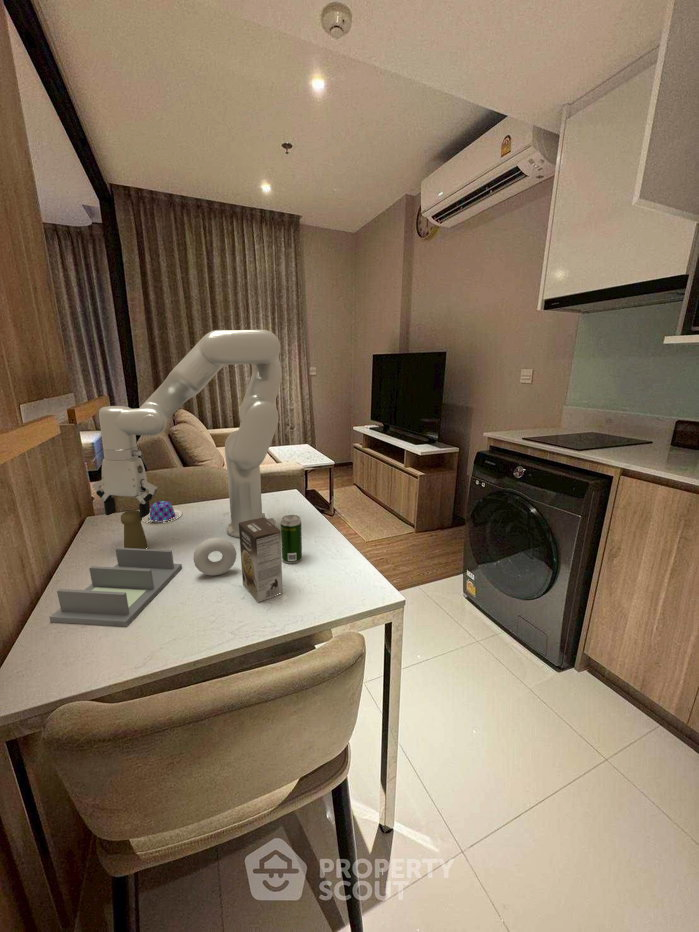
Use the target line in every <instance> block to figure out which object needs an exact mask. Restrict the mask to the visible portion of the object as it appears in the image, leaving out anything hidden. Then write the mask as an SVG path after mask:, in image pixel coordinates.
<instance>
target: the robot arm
mask: <svg viewBox="0 0 699 932" xmlns="http://www.w3.org/2000/svg"><path fill="white" fill-rule="evenodd" d="M280 353H281V342H280V340H279V338H278V337H277V336H276V334H275V333H273V332H272V331H269V330H267V329H240V330H239V329H237V330H232V329H231V330H230V329H216V330H215V329H214V330H211V331H209V332H208V333H206V334H204V335H203V336H202V338H201V339H200V340H199V341H198V342H197V343H196V344H195V345H194V347H192V348H191V350H189V352H188V353H187V354H186V355H185V356H184V357H183V358H182V359H181V360H179V363H178V364H176V366H175V367H174V368H173V369H172V370H171V371H170V372H169V374H168V375H167V377H166V378H165V380H164V381H163V382H162V383H161V384H160V385H159V386H158V388H157V389H156V390H154V392H153V393H152V394H151V395H150V396H149V397H148V398H147V399H146V400H145V401H144V402H143V404H142V405H141V406H140V407H139V408H131V407H128V406H124V405H109V406H103V407H101V408H100V409H99V411H98V419H99V425H100V434H101V435H100V436H101V441H102V450H103V459H102V462H101V479H100V480H99V481H97V482H95V483H92V488H93V489H94V491H95V493H96V495H97V496H98V497H99V498H100V501H101V502H103V505H104V511H105V516H110V515H112V514H113V513H115V512H116V511H117V509H116V500H115V497H127V498H128V497H129V498H136V499H137V500H138V501H139V502H140V503H139V505H138V507H139V511H140V517H141V518H142V519H143V518H144V517H145V516H147V515H149V513H150V510H151V506H150V502H151V500H152V499H153V498H154V497H155V495H156V493H157V491H158V487H157V486H156V485H154V484H152V483H151V482H149V481H148V477H147V473H146V469H145V466H144V462H143V460H142V458H141V457H139V456H142V450H138V447H137V437H136V436H146V437H153V436H157V435H160V434H162V433H163V432H164V431H165V429H166V427H167V422H168V421H169V420H170V419H171V417H172V416H173V415H174V414H175V413H176V412H177V411H178V410H179V409H180V408H181V406H183V405H184V403H186V402H187V401H189V399H192V398H194V397H195V396H197V395H198V394H199V393H201V391H202V390H203V389H204V388H205V387H206V386H207V385H208V383H209V382H211V381H212V379H213V378H214V377H215V376H216V375H217V374H218V372H220V370H221V369H222V368H223V367H224V366H225V365H231V366H232V365H234V366H235V365H251V370H252V371H251V377H250V381H249V383H248V387H247V389H246V393H245V395H244V397H243V400H242V402H241V404H240V407H239V410H238V415H239V419H240V421H241V422H240V425H239V428H238V429H237V430H235V431H232V432H231V433H229V435H228V436H227V438H226V439H225V442H224V454H225V455H224V456H225V462H226V469H227V470H226V471H227V481H228V483H227V484H228V497H229V498H228V499H229V511H230V523H229V524H228V525H227V526H226V533H227V534H228V535H229V536H232V537H234V538H239V539H240V536H239V524H238V523H240V522H244V521H248V520H252V519H258V518H262V517H264V518H265V519H267V520H268V521H269V522H270V523H272V524H273V525H274V526H276V525H277V522H276V520H275V518H273V517H267V516H266V513H265V512H263V505H262V503H263V502H262V487H261V486H262V485H261V479H262V478H261V467H260V466H261V464H262V463H263V462H264V460H265V458H266V457H267V454H268V451H269V450H270V446H271V444H272V441H273V438H274V435H275V433H276V431H277V428H278V424H279V412H278V409H277V407H276V405H275V402H276V399H277V396H278V393H279V390H280V387H281V384H282V383H281V382H282V377H283V373H282V365H281V362H280V357H279V355H280Z"/></svg>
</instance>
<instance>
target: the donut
mask: <svg viewBox="0 0 699 932" xmlns="http://www.w3.org/2000/svg"><path fill="white" fill-rule="evenodd" d="M214 552H219V553H220V554H221V557H222V558H220V560H216V561H213V560H211V559H210V558H209V556H210V554H211V553H214ZM237 554H238V553H237V549H236V547H235V546H234V544H233V542H231V541H230V540H228V539H226V538H224V537H210V538H207V539H205V540H203V541H202V542H200V544H198V546H197V547H196V549H195V550H194V553H193V563H194V565H195V567H196V569H197V570H198V571H199V572H201V573H202V574H204V575H208V576H219V575H222V574H225V573H226V572H228V571H230V569H232V567H234V564H235V562H236V559H237Z"/></svg>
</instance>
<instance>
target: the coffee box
mask: <svg viewBox="0 0 699 932" xmlns="http://www.w3.org/2000/svg"><path fill="white" fill-rule="evenodd" d="M238 524H239V536H240V538H239V548H240V559H241V573H242V574H241V575H242V576H241V577H242V584H243V586H244V588H245V589H246V590H247V591H248V592H249V593H250V595H251V596H252V597H253V598H254V599H256V600H255V601H256V602H257V603H258V602H259V603H262V602H264V601H267V600H269V599H271V598H270V597H272V598H274V597H273V596H275V595H277V594H279V593H282V594H283V573H282V572H283V569H282V567H283V564H282V562H283V559H282V544H281V528H280V529H279V528H278V527H277V526H276V525H275V526H274V525H273V524H272V523H270V522H269V521H268V520H267V519H265V518H264V517H262V518H258V519H252V520H248V521H244V522H240V523H238ZM277 596H278V595H277ZM275 597H276V596H275ZM268 598H269V599H268ZM266 599H267V600H266ZM263 600H264V601H263ZM261 601H262V602H261Z"/></svg>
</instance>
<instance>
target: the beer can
mask: <svg viewBox="0 0 699 932" xmlns="http://www.w3.org/2000/svg"><path fill="white" fill-rule="evenodd" d="M280 530H281V556H282V562H284V564H287V563H290V564H289V565H293V564H292V563H295V564H298V563H299V562H301V560H302V558H303V545H302V543H303V542H302V539H303V537H302V535H303V534H302V520H301V517H300V516H299V515H297V514H287V515H284V516H282V517H281V521H280ZM297 562H298V563H297Z"/></svg>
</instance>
